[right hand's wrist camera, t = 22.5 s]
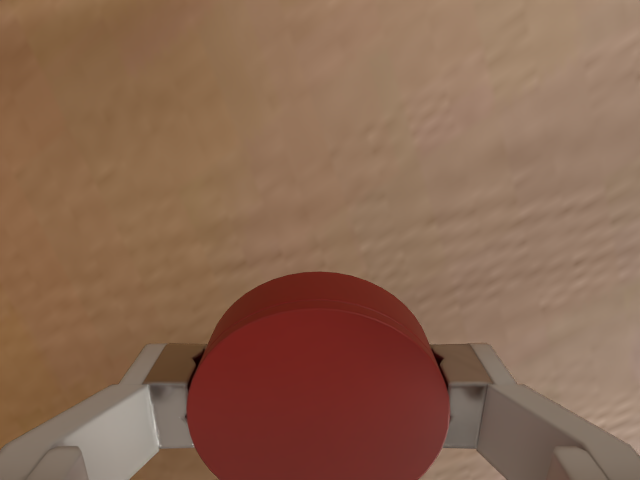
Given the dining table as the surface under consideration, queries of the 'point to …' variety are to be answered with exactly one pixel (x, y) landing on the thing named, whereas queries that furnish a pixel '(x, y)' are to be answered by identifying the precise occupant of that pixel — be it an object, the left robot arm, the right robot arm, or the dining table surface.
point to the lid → (318, 385)
